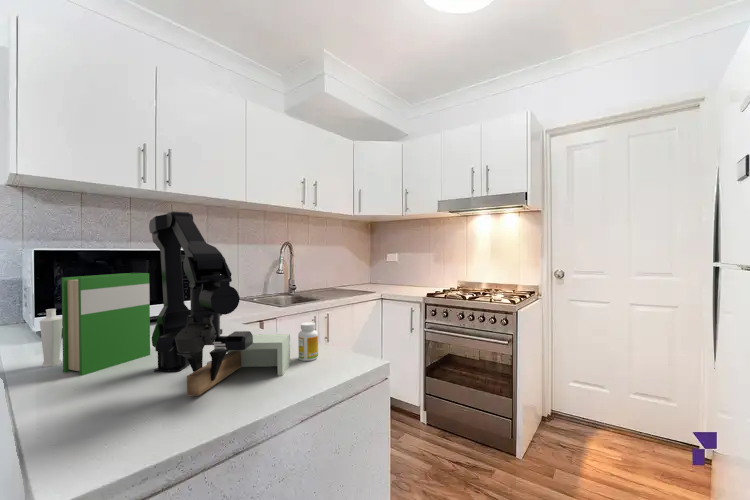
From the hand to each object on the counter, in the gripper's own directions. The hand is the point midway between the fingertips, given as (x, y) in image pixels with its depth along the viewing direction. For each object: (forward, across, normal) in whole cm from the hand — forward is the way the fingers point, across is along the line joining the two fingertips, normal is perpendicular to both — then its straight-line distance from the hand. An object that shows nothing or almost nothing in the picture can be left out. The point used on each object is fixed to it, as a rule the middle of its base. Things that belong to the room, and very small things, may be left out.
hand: (206, 380), depth 76 cm
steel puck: (+2, -2, +11) cm, 12 cm away
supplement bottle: (+2, +19, +21) cm, 28 cm away
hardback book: (+2, -35, +20) cm, 41 cm away
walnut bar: (+1, +1, +4) cm, 4 cm away
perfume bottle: (+2, -50, +19) cm, 54 cm away
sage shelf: (+2, +7, +12) cm, 14 cm away
